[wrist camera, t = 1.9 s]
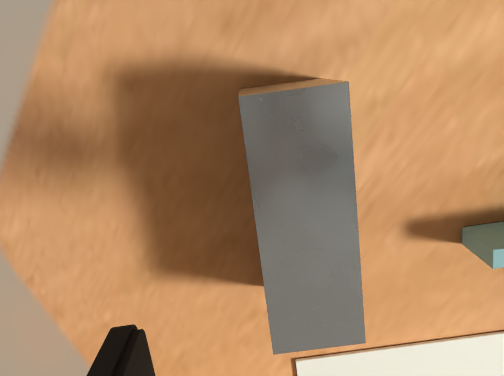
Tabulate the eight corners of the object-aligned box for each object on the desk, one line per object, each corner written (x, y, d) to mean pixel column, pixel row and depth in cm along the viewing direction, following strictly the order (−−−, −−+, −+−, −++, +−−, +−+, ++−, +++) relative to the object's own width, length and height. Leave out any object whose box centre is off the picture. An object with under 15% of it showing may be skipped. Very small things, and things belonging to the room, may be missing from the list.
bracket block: (239, 88, 21) (238, 96, 15) (319, 78, 21) (348, 81, 15) (266, 285, 24) (273, 354, 18) (335, 276, 24) (365, 342, 18)
